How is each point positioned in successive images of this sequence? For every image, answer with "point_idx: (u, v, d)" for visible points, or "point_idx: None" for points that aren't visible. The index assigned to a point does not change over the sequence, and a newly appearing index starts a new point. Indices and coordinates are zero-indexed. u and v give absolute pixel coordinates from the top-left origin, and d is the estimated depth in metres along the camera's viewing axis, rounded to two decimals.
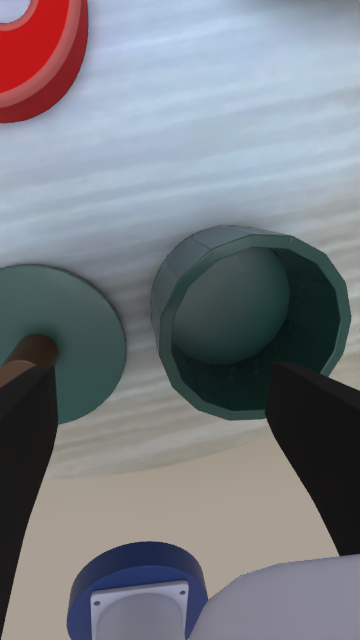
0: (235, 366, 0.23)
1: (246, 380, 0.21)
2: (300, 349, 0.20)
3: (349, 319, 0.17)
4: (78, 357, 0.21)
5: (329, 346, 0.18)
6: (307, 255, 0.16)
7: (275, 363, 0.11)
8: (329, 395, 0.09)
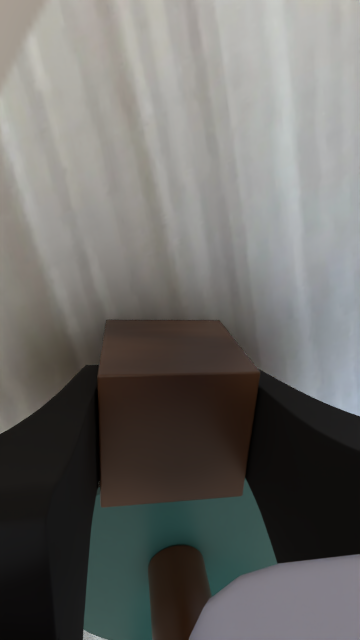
0: None
1: None
2: None
3: None
4: None
5: None
6: None
7: None
8: (269, 397, 0.08)
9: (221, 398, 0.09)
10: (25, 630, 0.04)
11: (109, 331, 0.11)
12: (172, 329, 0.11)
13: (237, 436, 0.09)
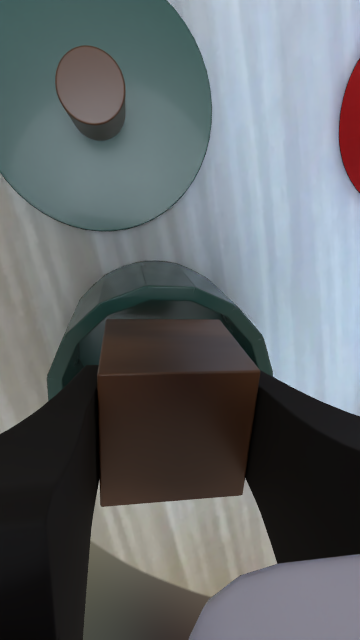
0: (79, 363, 0.19)
1: None
2: None
3: None
4: (90, 166, 0.16)
5: None
6: None
7: None
8: (269, 397, 0.08)
9: (221, 397, 0.09)
10: (25, 630, 0.04)
11: (108, 330, 0.11)
12: (172, 328, 0.11)
13: (236, 435, 0.09)
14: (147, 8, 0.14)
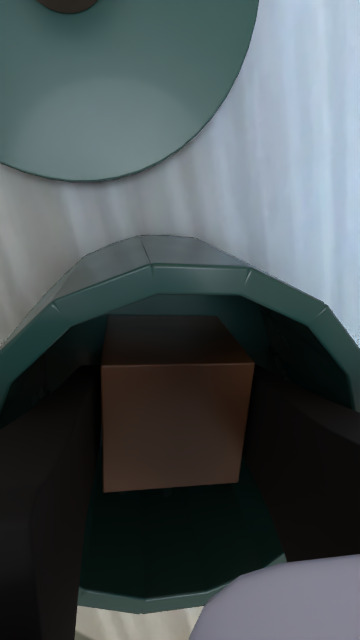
0: (46, 396, 0.12)
1: None
2: (110, 513, 0.11)
3: (205, 603, 0.10)
4: (51, 63, 0.09)
5: (147, 582, 0.10)
6: None
7: None
8: (278, 397, 0.08)
9: (218, 387, 0.09)
10: (10, 632, 0.04)
11: (110, 325, 0.11)
12: (171, 324, 0.12)
13: (233, 424, 0.10)
14: None
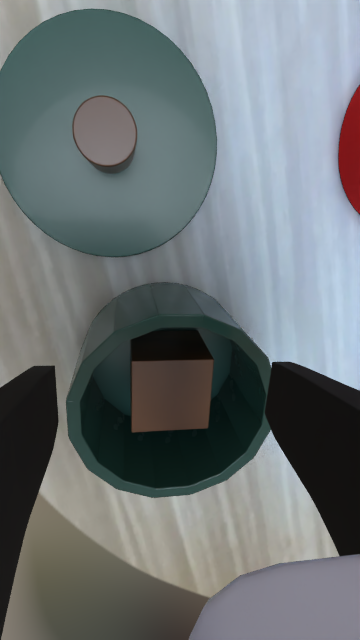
0: (92, 381, 0.20)
1: (89, 400, 0.18)
2: (134, 449, 0.19)
3: (189, 493, 0.17)
4: (102, 197, 0.17)
5: (156, 481, 0.17)
6: (254, 443, 0.17)
7: (275, 363, 0.11)
8: (329, 395, 0.09)
9: (194, 372, 0.17)
10: None
11: None
12: (169, 336, 0.19)
13: (203, 393, 0.17)
14: (155, 50, 0.15)
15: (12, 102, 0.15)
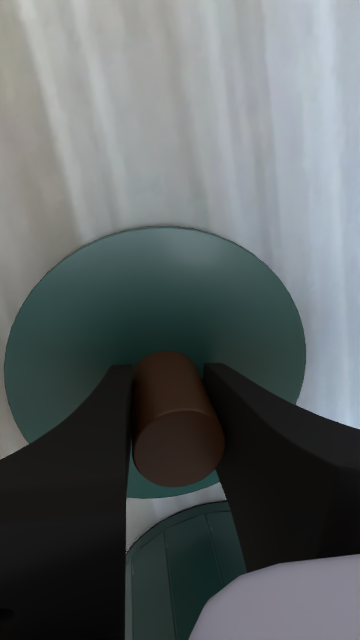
0: None
1: None
2: None
3: None
4: None
5: None
6: None
7: (205, 364, 0.11)
8: (239, 398, 0.08)
9: None
10: (97, 620, 0.04)
11: None
12: None
13: None
14: (234, 270, 0.11)
15: (35, 344, 0.11)
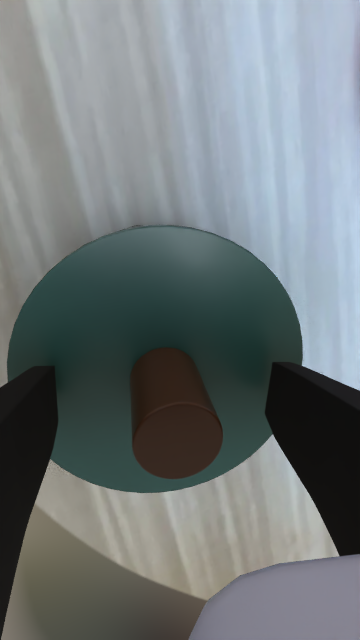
0: None
1: None
2: None
3: None
4: None
5: None
6: None
7: (275, 363, 0.11)
8: (329, 395, 0.09)
9: None
10: None
11: None
12: None
13: None
14: (232, 268, 0.11)
15: (38, 340, 0.11)
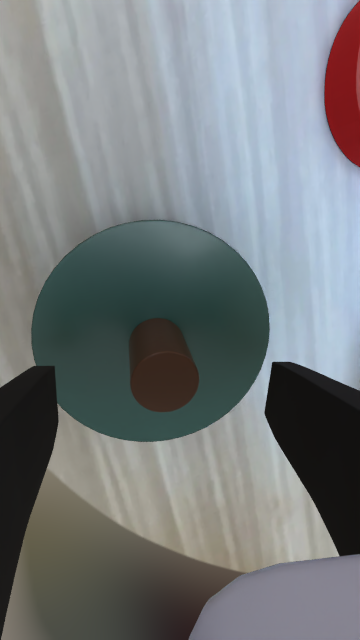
0: None
1: None
2: None
3: None
4: None
5: None
6: None
7: (275, 363, 0.11)
8: (329, 395, 0.09)
9: None
10: None
11: None
12: None
13: None
14: (210, 254, 0.14)
15: (56, 311, 0.14)
